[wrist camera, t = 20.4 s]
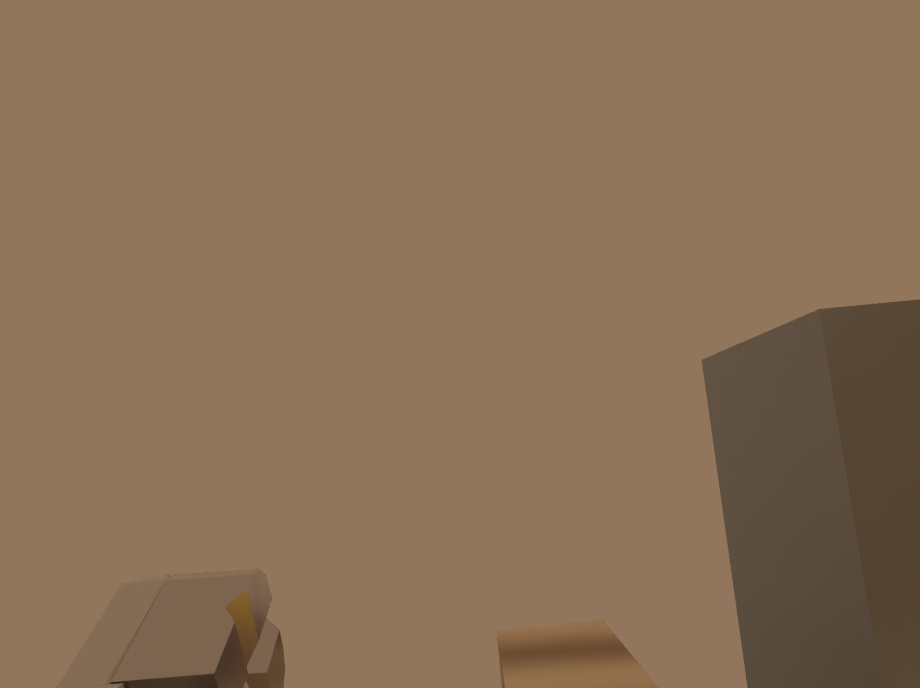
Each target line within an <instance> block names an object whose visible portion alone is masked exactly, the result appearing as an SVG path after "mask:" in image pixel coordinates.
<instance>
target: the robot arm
mask: <svg viewBox="0 0 920 688" xmlns="http://www.w3.org/2000/svg"><path fill="white" fill-rule="evenodd" d="M271 600H272V596H271V593H270V589H269V585H268V581H267V578H266V575H265V574H264V573H263V572H262V571H261V570H259V569H252V570H237V571H221V572H205V573H189V574H175V575H173V576H171V575H163V576H151V577H138V578H131V579H129V580H127V581H125V582H124V583H122V584H121V585H120V586H119V588H118V589H117V591H116V592H115V594H114V596H113V597H112V599H111V600H110V602H109V604H108V605H107V607H106V608H105V610H104V612H103V613H102V615H101V617H100V618H99V620H98V621H97V623H96V625H95V626H94V628H93V629H92V631H91V632H90V634H89V636H88V637H87V639H86V640H85V642H84V643H83V645H82V647H81V648H80V650H79V651H78V653H77V655H76V656H75V658H74V660H73V661H72V663H71V664H70V666H69V667H68V669H67V671H66V672H65V674H64V675H63V677H62V679H61V680H60V682H59V683H58V685H57V687H56V688H283V685H284V673H285V663H284V651H283V644H282V639H281V635H280V630H279V629H278V628H277V627H276V626H275V625H273V624H272V623H271V622H270V621H269V620H268V619H266V616H267V613H268V610H269V607H270V603H271Z"/></svg>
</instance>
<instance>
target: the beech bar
mask: <svg viewBox="0 0 920 688" xmlns="http://www.w3.org/2000/svg"><path fill="white" fill-rule="evenodd" d="M496 633H497V644H498V654H499V665H500V675H501V686H502V688H658V687H657V686H656V684H655V683H654V682H653V681H652V679H651V678H650V677H649V676H648V675H647V673H646V672H645V671H644V670H643V669H642V667H641V666H640V665H639V664H638V662H637V661H636V660H635V659H634V658H633V656H632V655H631V654H630V653H629V652H628V650H627V649H626V648H625V647H624V645H623V644H622V643H621V642H620V640H619V639H618V638H617V637H616V636H615V634H614V633H613V632H612V631H611V629H610V628H609V627H608V626H607V625H606V624H605V622H604V621H594V622H583V623H573V624H562V625H552V626H541V627H530V628H519V629H508V630H498V631H496Z"/></svg>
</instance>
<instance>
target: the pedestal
mask: <svg viewBox="0 0 920 688" xmlns="http://www.w3.org/2000/svg"><path fill="white" fill-rule="evenodd" d="M702 365H703V372H704V379H705V387H706V393H707V400H708V408H709V415H710V422H711V429H712V436H713V443H714V451H715V458H716V464H717V472H718V479H719V486H720V493H721V500H722V506H723V507H722V508H723V515H724V522H725V529H726V536H727V543H728V550H729V557H730V564H731V572H732V579H733V586H734V592H735V600H736V607H737V614H738V622H739V628H740V635H741V643H742V649H743V657H744V664H745V672H746V679H747V686H748V688H920V300H910V301H899V302H889V303H878V304H868V305H857V306H847V307H837V308H828V309H827V308H826V309H818V310H816V311H814V312H811V313H809V314H807V315H805V316H802V317H800V318H798V319H796V320H793V321H791V322H788V323H786V324H784V325H781V326H779V327H777V328H774V329H772V330H770V331H768V332H765V333H763V334H761V335H758V336H756V337H754V338H752V339H749V340H747V341H745V342H742V343H740V344H737V345H735V346H733V347H731V348H728V349H726V350H724V351H721V352H719V353H717V354H715V355H712V356H710V357H707V358H705V359H703V360H702Z"/></svg>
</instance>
